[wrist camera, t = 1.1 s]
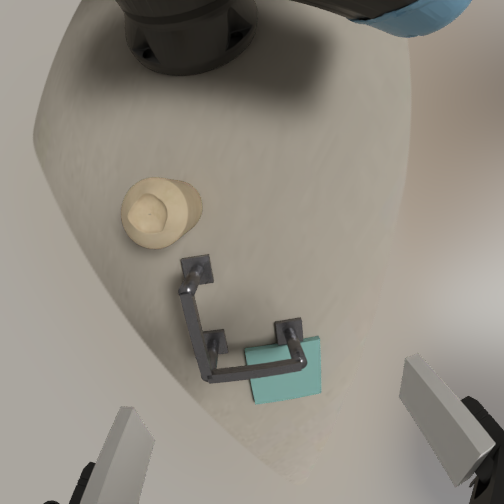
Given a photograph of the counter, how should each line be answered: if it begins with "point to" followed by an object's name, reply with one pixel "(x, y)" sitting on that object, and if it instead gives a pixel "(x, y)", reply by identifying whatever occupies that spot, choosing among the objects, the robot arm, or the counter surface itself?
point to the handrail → (215, 341)
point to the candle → (160, 211)
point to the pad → (291, 382)
